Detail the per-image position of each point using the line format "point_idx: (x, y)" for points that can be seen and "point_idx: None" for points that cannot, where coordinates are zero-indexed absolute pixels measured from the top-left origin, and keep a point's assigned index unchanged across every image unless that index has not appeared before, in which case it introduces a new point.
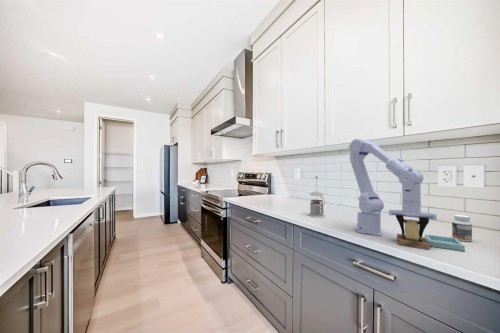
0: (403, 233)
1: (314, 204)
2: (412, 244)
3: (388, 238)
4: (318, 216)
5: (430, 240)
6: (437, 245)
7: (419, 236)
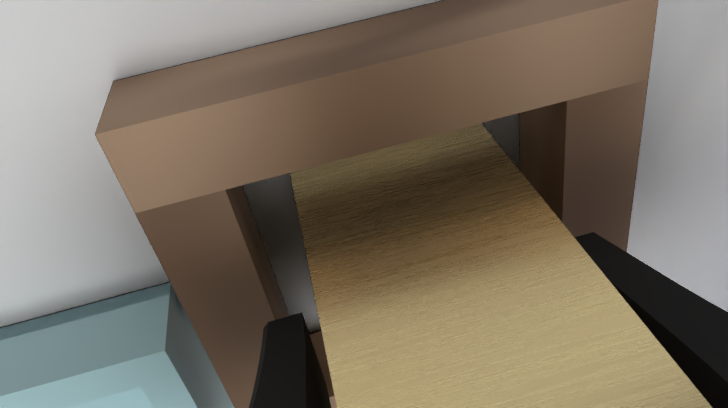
0: (598, 252)
1: None
2: (384, 36)
3: (687, 210)
4: None
5: (155, 388)
6: (56, 337)
7: (310, 338)
